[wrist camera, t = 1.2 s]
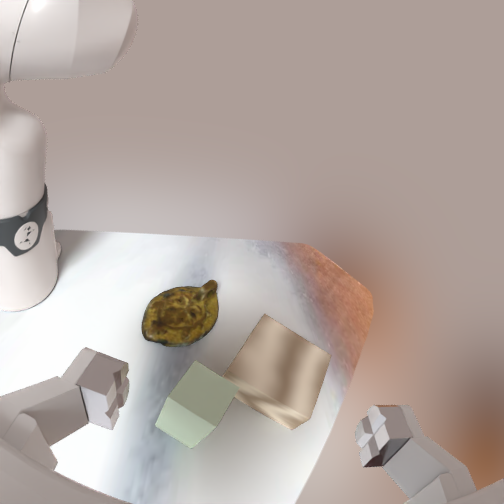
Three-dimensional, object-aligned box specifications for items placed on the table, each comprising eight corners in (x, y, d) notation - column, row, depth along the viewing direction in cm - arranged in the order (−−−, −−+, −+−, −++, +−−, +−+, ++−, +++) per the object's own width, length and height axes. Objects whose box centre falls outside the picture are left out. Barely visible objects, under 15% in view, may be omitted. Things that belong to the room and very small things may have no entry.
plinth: (215, 386, 36) (227, 370, 33) (251, 332, 46) (264, 313, 43) (290, 430, 35) (310, 418, 32) (313, 371, 44) (331, 355, 42)
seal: (169, 368, 37) (229, 314, 48) (178, 355, 34) (242, 298, 46) (123, 319, 38) (190, 275, 50) (128, 301, 35) (199, 257, 47)
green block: (154, 425, 28) (167, 396, 23) (176, 396, 33) (195, 359, 27) (191, 449, 28) (216, 427, 22) (210, 418, 32) (239, 387, 26)
